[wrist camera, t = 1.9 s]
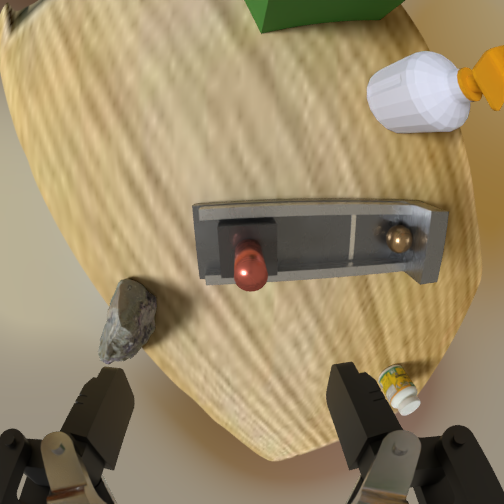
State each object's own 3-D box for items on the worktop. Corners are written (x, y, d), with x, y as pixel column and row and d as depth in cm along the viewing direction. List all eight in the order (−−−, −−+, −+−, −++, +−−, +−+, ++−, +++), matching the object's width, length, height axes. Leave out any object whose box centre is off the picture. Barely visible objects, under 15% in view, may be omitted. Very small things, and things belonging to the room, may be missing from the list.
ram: (219, 219, 31) (211, 246, 22) (272, 216, 31) (287, 242, 22) (222, 265, 33) (217, 307, 24) (273, 263, 33) (286, 303, 24)
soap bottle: (352, 94, 28) (511, 38, 5) (389, 59, 26) (527, 4, 3) (397, 146, 30) (563, 166, 7) (429, 108, 28) (575, 103, 5)
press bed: (194, 203, 32) (182, 217, 25) (417, 200, 33) (451, 211, 26) (201, 273, 35) (192, 303, 28) (410, 260, 36) (439, 281, 29)
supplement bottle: (373, 383, 44) (391, 419, 35) (386, 363, 43) (408, 398, 34) (392, 383, 45) (412, 416, 36) (406, 363, 43) (429, 396, 34)
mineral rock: (119, 353, 39) (98, 396, 30) (79, 301, 36) (47, 338, 26) (181, 329, 38) (167, 377, 28) (139, 267, 34) (109, 305, 25)
